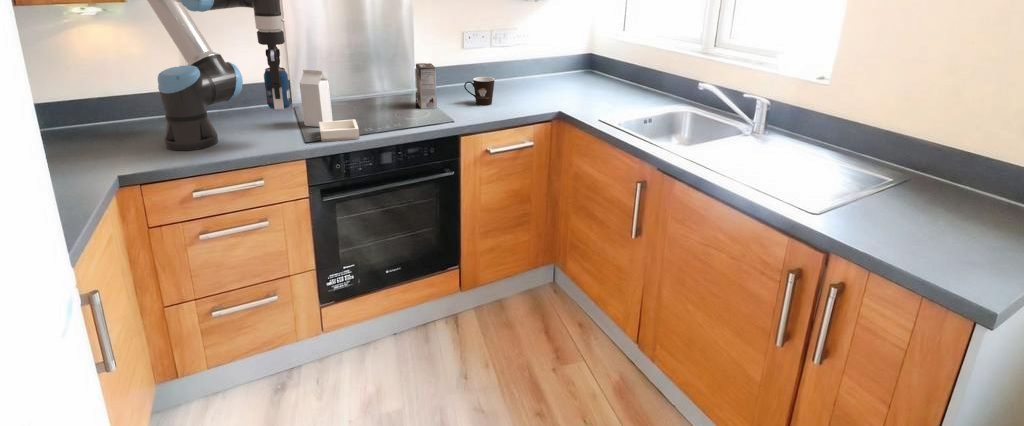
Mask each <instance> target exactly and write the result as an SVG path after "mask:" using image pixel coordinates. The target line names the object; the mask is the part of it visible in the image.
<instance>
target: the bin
mask: <svg viewBox="0 0 1024 426" xmlns="http://www.w3.org/2000/svg"><path fill="white" fill-rule="evenodd" d="M319 126H320V127H319V133H320V138H321V142H322V143H328V142H341V141H351V140H354V141H355V140H360V130H359V126H358V123H357V120H356V119H344V120H343V119H342V120H333V121H324V122H319Z"/></svg>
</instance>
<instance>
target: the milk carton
mask: <svg viewBox="0 0 1024 426" xmlns="http://www.w3.org/2000/svg"><path fill="white" fill-rule="evenodd" d="M302 72H303V73H302V75H301V78H300V81H299V84H298V85H299V89H300V97H301V98H300V99H301V105H302V106H301V107H302V113H303V122H304V126H306V127H315V128H316V127H318V128H320V126H319V122H324V121H334V119H333V114H332V113H333V111H332V102H331V93H330V85H329V79H328V78H327V77H326V76H325V75H324V73H323V72H324V71H323V70H316V69H302Z"/></svg>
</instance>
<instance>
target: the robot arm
mask: <svg viewBox="0 0 1024 426" xmlns="http://www.w3.org/2000/svg"><path fill="white" fill-rule="evenodd" d="M146 1H147V2H148V4H149V5H150V7H151V9H152V11H153V12H154V13H155V15H156V17H157V18H158V19H159V21H160V22H161V24H162V25H163V27H164V30H166V32H167V33H168V35H169V37H170V39H172V41H173V43H174V44H175V46H176V48H177V49H178V51H179V52H180V54H181V55H182V57H183V59H184V60H185V62H186V63H187V64H186V65H179V66H173V67H168V68H166V69H163V70H161V71H160V72H159V73H158V75H157V84H158V86H157V87H158V91H159V95H160V98H161V103H162V107H163V112H164V116H165V122H166V124H165V131H164V138H163V141H164V146H165V148H166V149H168V150H172V151H195V150H201V149H205V148H209V147H212V146H214V145H216V144H217V143H219V136H218V133H217V131H216V129H215V127H214V125H213V124H212V122H211V121H210V118H209V116H208V111H207V106H211V105H215V104H217V103H221V102H222V103H223V102H228V101H230V100H231V99H235V98H236V97H238V96H239V95H240V93H241V92H242V90H243V83H244V82H243V81H244V80H243V76H242V73H241V71H240V69H239V68H238V67H237V65H235V64H234V63H232V62H230V61H225V59H224V58H223V57H222V55H221V53H218V52H215V51H213V49H212V48H211V47H210V45H209V43H208V41H207V39H205V37H204V35H203V34H202V32H201V31H200V29H199V27H198V26H197V24H196V22H195V21H194V20H193V18H192V16H191V15H190V14H189V11H190V12H200V13H204V12H207V11H215V10H224V9H225V10H226V9H233V8H234V9H235V8H248V9H249V8H250V9H253V13H254V17H253V18H254V23H255V29H256V30H257V31H256V37H257V42H258V44H259V45H261V46H267V48H266V49H265V56H266V61H267V65H268V68H270V76H271V86H269V88H272V93H273V101H274V109H282V110H285V109H284V105H283V97H282V89H281V84H280V76H279V67H280V66H281V57H280V56H281V51H280V49H279V48H278V46H279V45H280V46H281V45H283V44H284V43H285V33H284V31H283V30H282V29H284V27H283V26H284V25H283V23H284V22H285V18H283V17H282V10H281V0H146ZM274 109H273V110H274Z"/></svg>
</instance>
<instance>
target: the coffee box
mask: <svg viewBox="0 0 1024 426" xmlns="http://www.w3.org/2000/svg"><path fill="white" fill-rule="evenodd" d="M436 70H437V69H436V66H434V65H433V63H431V62H429V63H423V62H422V63H421V62H419V63H415V74H416V75H415V76H416V87H417V88H416V90H417V92H416V93H417V104H418V107H420V109H421V110H429V109H437V105H438V104H437V75H436V74H437V71H436Z"/></svg>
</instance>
